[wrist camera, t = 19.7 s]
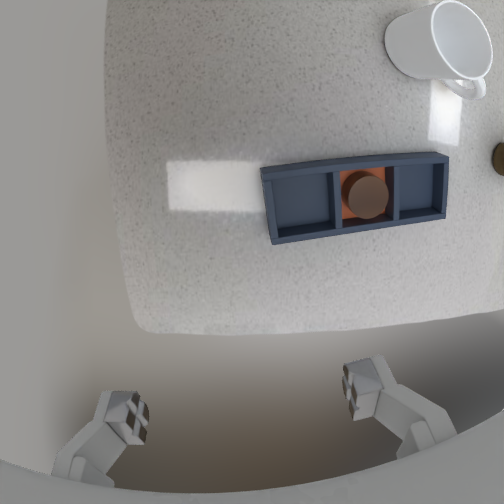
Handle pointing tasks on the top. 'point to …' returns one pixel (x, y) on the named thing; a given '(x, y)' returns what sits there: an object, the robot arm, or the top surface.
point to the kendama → (499, 159)
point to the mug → (442, 46)
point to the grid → (330, 199)
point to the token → (365, 194)
